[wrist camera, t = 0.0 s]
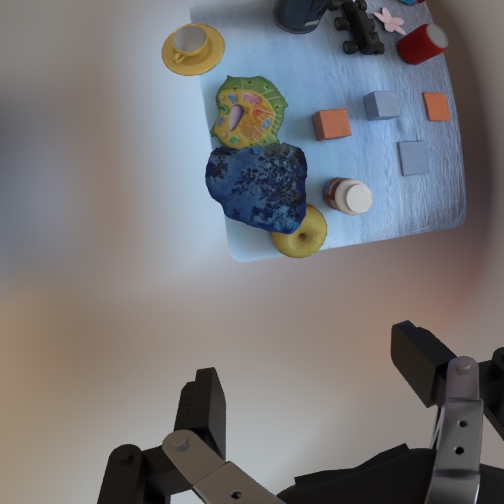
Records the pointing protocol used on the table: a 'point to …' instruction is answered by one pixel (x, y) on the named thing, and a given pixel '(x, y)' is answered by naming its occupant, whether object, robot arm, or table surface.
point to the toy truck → (411, 1)
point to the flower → (391, 21)
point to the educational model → (248, 113)
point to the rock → (260, 185)
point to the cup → (192, 49)
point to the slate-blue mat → (413, 157)
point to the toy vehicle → (357, 27)
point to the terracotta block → (331, 124)
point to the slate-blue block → (382, 105)
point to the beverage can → (422, 44)
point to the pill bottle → (348, 196)
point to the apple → (303, 236)
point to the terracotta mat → (436, 106)
